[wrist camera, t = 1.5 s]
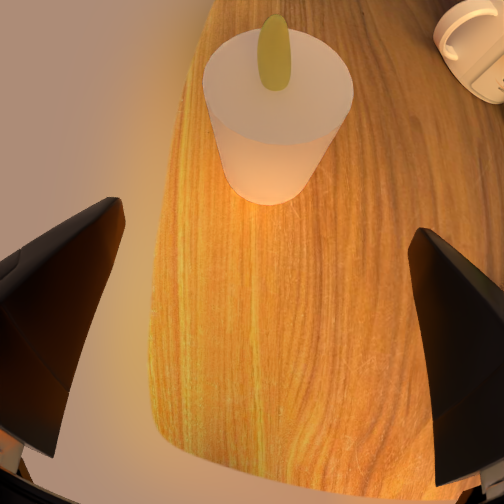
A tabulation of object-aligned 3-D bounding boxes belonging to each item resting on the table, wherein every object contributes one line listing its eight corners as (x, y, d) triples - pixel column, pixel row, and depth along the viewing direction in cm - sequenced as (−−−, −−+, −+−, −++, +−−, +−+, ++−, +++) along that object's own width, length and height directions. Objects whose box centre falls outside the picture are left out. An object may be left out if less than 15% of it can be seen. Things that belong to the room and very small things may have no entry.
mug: (507, 127, 23) (576, 83, 12) (413, 61, 23) (467, -14, 12) (506, 64, 23) (557, 19, 12) (424, 8, 24) (462, -55, 13)
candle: (325, 143, 22) (405, -6, 7) (289, 220, 22) (359, 117, 7) (248, 108, 23) (245, -60, 8) (207, 182, 22) (142, 39, 7)
